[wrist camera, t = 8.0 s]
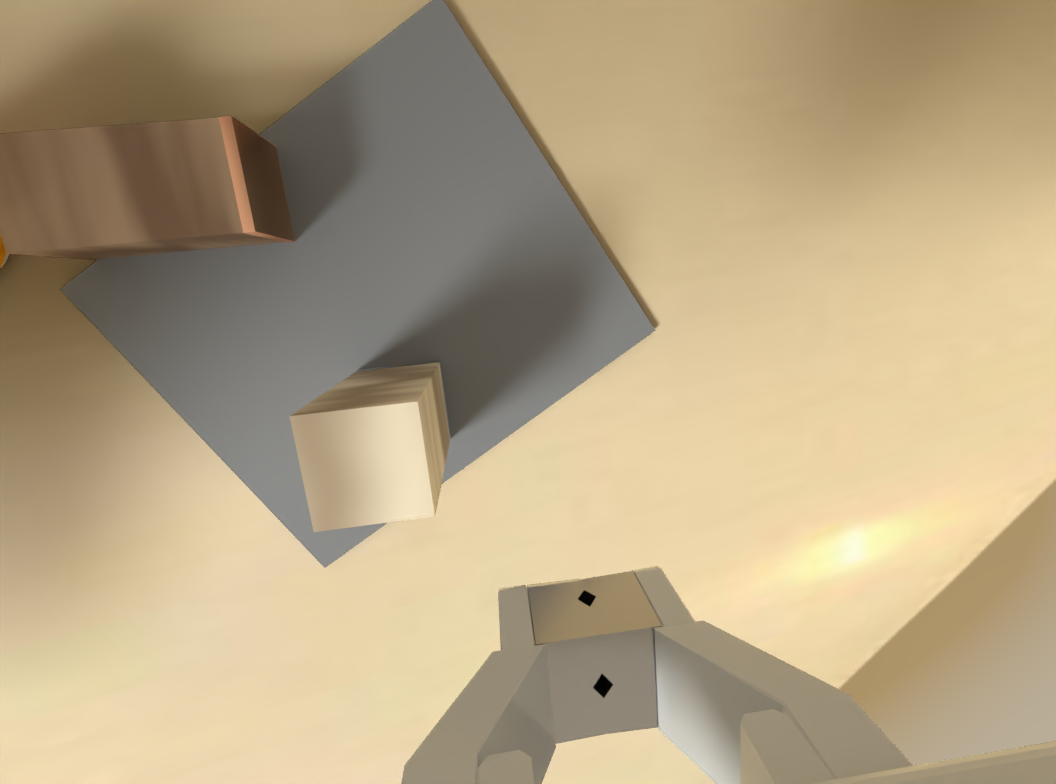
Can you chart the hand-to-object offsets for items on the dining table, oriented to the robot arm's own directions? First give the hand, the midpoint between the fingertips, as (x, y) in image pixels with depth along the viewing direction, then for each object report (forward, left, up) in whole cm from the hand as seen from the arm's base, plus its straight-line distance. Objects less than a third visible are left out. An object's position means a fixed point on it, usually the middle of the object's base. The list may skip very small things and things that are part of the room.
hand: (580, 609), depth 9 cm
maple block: (-5, +3, -20) cm, 20 cm away
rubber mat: (-3, +8, -20) cm, 22 cm away
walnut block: (-3, +15, -17) cm, 23 cm away
